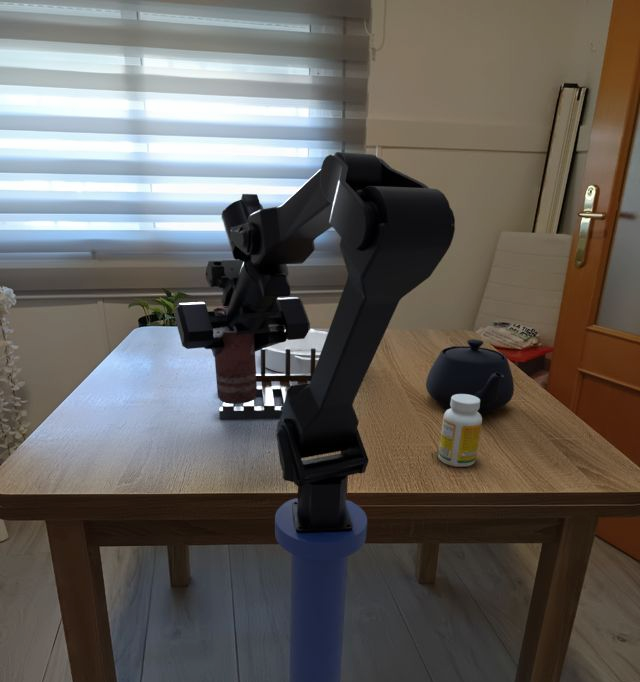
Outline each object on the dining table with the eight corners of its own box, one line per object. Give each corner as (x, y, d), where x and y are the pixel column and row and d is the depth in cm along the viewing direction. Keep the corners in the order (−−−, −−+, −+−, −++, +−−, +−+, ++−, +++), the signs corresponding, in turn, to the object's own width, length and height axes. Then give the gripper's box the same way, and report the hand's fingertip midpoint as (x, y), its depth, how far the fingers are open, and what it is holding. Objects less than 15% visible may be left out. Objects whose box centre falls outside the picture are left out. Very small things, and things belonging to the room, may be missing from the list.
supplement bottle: (434, 463, 83) (442, 400, 79) (442, 449, 87) (450, 389, 84) (472, 471, 81) (481, 407, 77) (478, 456, 85) (487, 395, 82)
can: (229, 389, 94) (223, 303, 88) (263, 394, 91) (259, 306, 86) (208, 401, 89) (201, 310, 83) (244, 406, 86) (239, 313, 81)
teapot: (410, 385, 116) (416, 325, 112) (484, 385, 118) (493, 326, 113) (447, 433, 93) (456, 360, 89) (538, 432, 95) (552, 361, 90)
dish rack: (338, 418, 98) (340, 369, 94) (219, 420, 95) (217, 370, 92) (327, 391, 111) (328, 347, 107) (222, 392, 108) (220, 347, 105)
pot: (370, 381, 118) (372, 358, 116) (262, 384, 114) (262, 360, 112) (341, 345, 144) (342, 326, 142) (251, 347, 140) (251, 327, 138)
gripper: (303, 240, 82) (273, 305, 95) (172, 241, 74) (159, 312, 87) (327, 305, 78) (292, 363, 92) (192, 313, 70) (176, 376, 84)
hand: (232, 352), depth 89 cm, fingers closed on can, 5 cm apart
